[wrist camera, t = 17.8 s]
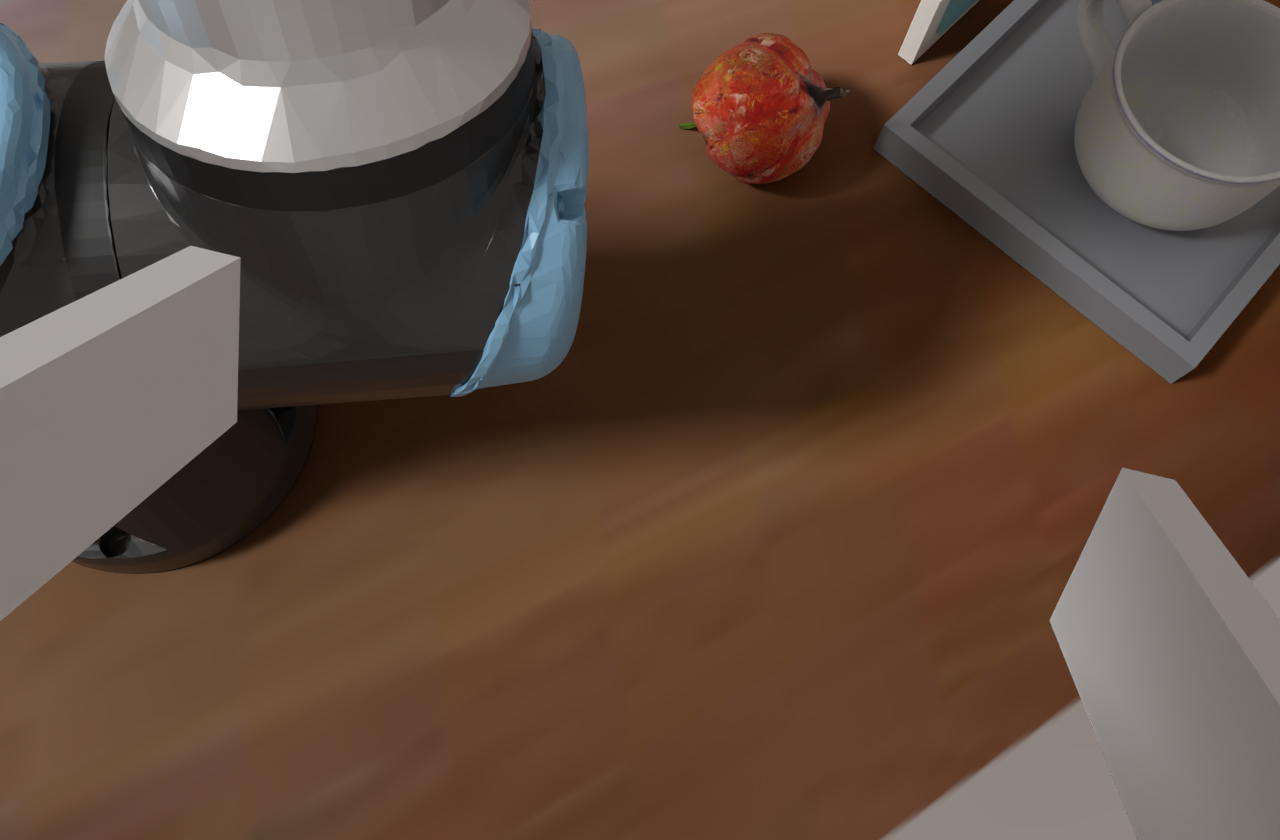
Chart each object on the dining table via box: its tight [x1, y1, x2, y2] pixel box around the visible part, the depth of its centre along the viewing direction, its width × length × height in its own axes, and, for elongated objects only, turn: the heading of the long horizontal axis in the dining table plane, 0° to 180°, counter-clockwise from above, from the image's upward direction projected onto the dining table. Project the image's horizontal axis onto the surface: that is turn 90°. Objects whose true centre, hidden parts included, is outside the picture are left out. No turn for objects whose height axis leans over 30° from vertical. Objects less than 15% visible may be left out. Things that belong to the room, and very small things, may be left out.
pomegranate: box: [679, 33, 851, 184], centre depth 52 cm, size 7×7×10 cm
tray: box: [873, 0, 1280, 384], centre depth 55 cm, size 20×20×2 cm
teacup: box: [1074, 0, 1280, 231], centre depth 52 cm, size 14×11×8 cm
